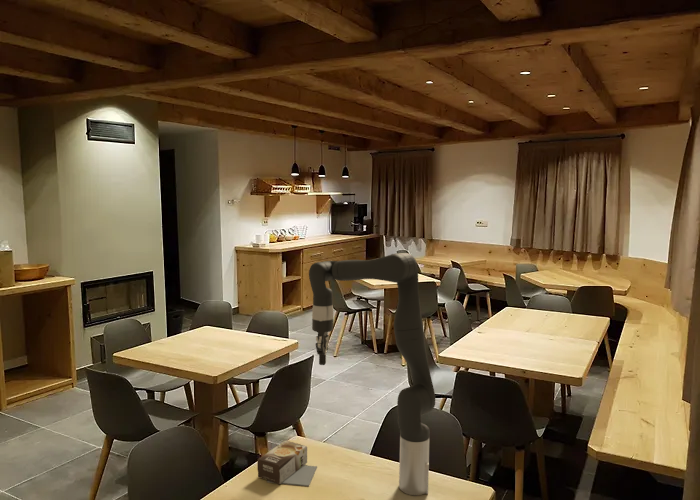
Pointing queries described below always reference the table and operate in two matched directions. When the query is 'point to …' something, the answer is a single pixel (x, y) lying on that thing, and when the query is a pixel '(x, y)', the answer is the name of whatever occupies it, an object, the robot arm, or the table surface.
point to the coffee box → (282, 461)
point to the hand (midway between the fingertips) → (322, 364)
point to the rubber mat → (301, 476)
